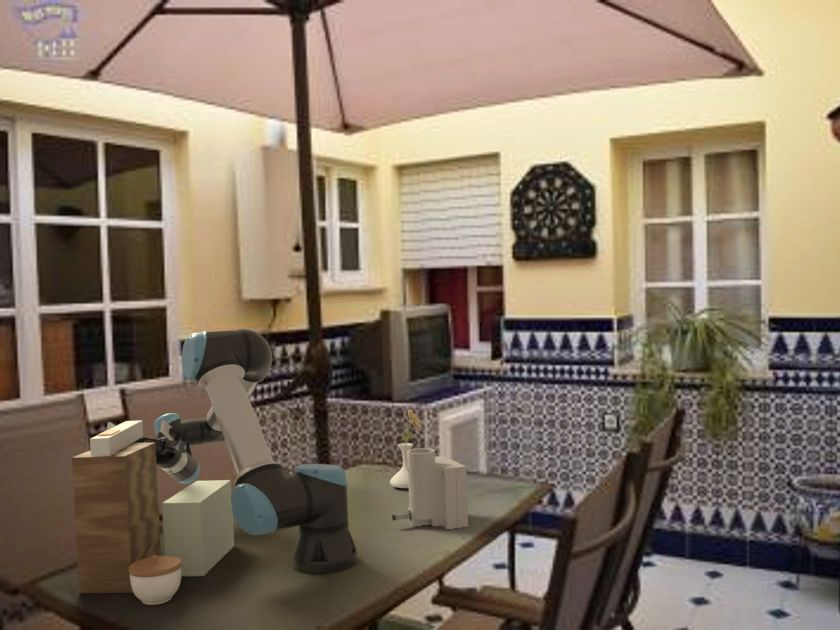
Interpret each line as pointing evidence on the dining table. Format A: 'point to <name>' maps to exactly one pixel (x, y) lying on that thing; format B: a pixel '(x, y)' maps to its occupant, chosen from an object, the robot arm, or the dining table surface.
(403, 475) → the flower in vase
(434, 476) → the white tube and box
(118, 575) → the walnut stand
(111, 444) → the white bar
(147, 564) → the lidded jar
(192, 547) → the upright ivory cuboid
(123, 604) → the dining table surface
